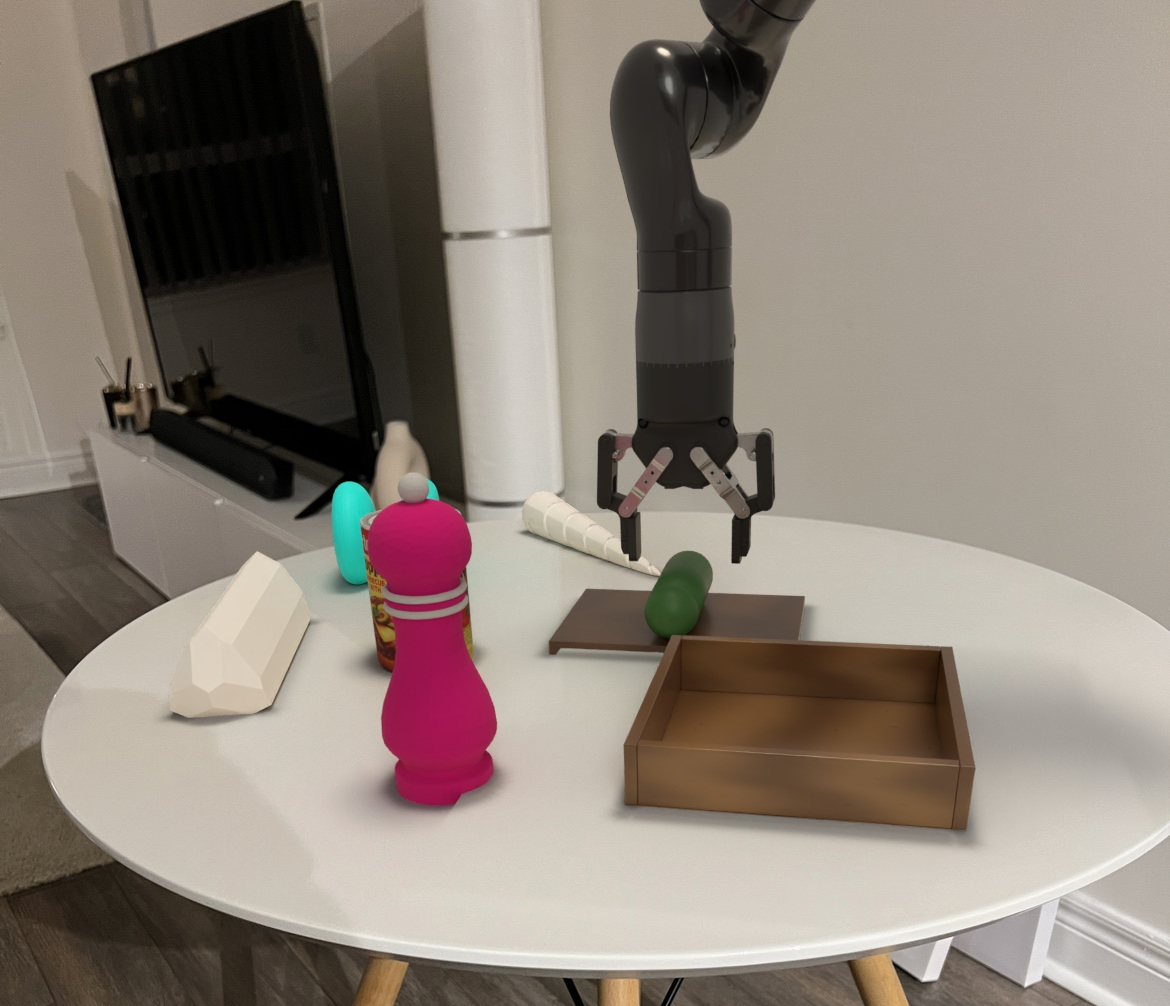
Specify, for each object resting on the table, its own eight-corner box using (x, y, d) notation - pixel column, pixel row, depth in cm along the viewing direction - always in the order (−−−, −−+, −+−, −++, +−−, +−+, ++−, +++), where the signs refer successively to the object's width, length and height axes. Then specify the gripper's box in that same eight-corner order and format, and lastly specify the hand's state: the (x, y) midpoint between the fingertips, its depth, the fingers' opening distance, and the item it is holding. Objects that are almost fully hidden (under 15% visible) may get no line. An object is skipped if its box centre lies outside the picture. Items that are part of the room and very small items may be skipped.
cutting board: (804, 611, 98) (805, 595, 98) (795, 670, 86) (796, 652, 86) (586, 603, 103) (585, 588, 102) (549, 658, 91) (548, 641, 90)
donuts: (442, 592, 107) (432, 489, 103) (339, 598, 107) (324, 495, 102) (447, 563, 116) (437, 467, 111) (351, 568, 116) (338, 472, 111)
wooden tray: (944, 712, 78) (952, 646, 76) (964, 845, 62) (975, 766, 60) (671, 697, 82) (671, 634, 80) (624, 818, 66) (623, 744, 64)
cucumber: (668, 592, 100) (665, 545, 98) (716, 591, 99) (715, 543, 97) (641, 646, 88) (638, 594, 86) (696, 646, 87) (693, 593, 85)
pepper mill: (424, 755, 75) (388, 457, 66) (520, 769, 73) (497, 461, 63) (368, 804, 69) (321, 483, 60) (471, 821, 67) (438, 490, 58)
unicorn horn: (628, 587, 106) (627, 538, 104) (520, 535, 125) (517, 493, 123) (669, 578, 108) (669, 530, 106) (557, 529, 127) (555, 487, 125)
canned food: (358, 667, 90) (338, 522, 85) (424, 638, 96) (409, 500, 90) (428, 686, 86) (412, 534, 81) (493, 655, 92) (481, 511, 86)
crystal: (284, 674, 79) (329, 575, 100) (186, 631, 77) (253, 540, 98) (248, 757, 82) (299, 644, 103) (152, 718, 80) (225, 611, 101)
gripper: (583, 361, 82) (592, 571, 90) (775, 357, 79) (768, 575, 87) (604, 349, 89) (611, 546, 96) (782, 345, 86) (775, 549, 93)
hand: (685, 560), depth 92 cm, fingers open, 8 cm apart
